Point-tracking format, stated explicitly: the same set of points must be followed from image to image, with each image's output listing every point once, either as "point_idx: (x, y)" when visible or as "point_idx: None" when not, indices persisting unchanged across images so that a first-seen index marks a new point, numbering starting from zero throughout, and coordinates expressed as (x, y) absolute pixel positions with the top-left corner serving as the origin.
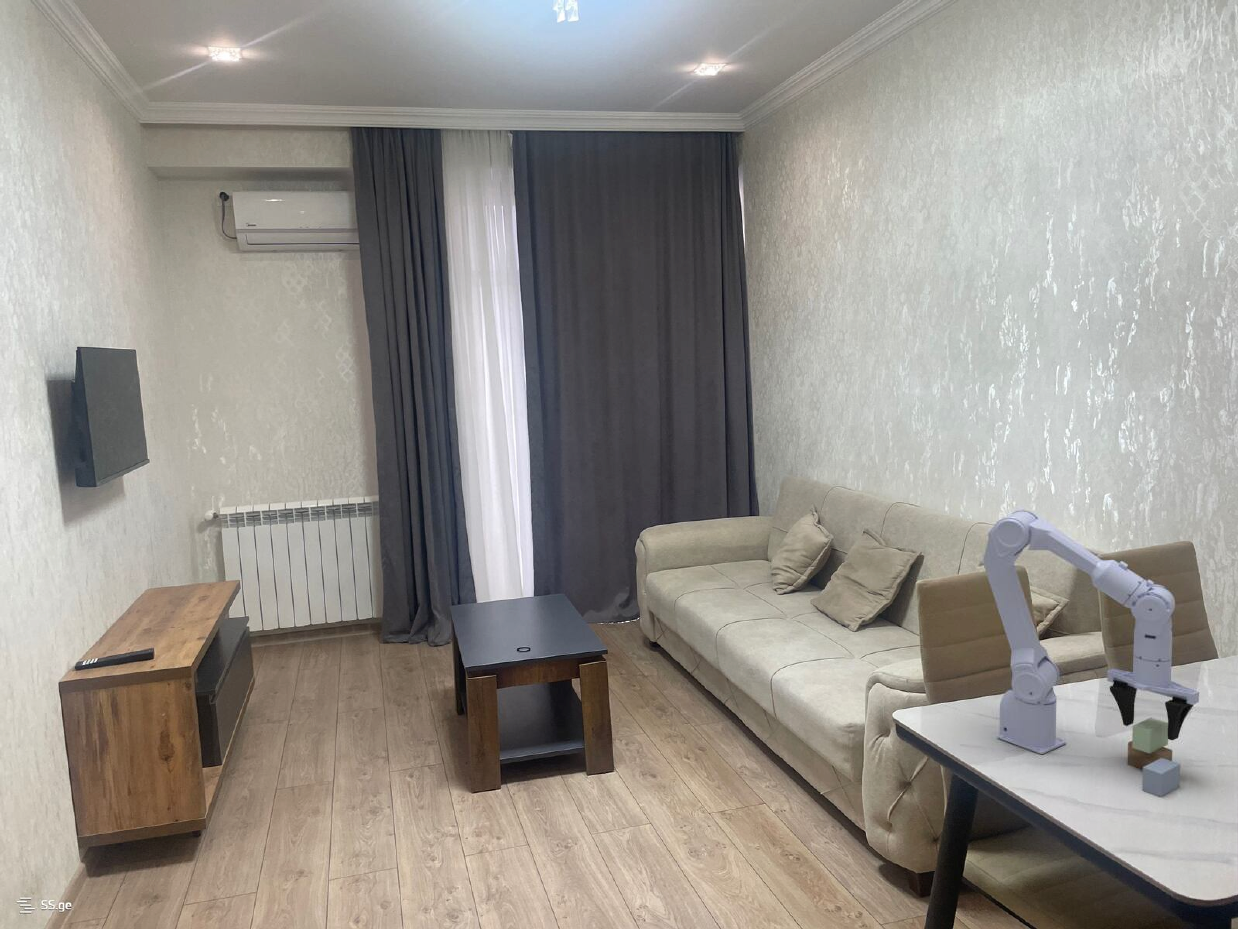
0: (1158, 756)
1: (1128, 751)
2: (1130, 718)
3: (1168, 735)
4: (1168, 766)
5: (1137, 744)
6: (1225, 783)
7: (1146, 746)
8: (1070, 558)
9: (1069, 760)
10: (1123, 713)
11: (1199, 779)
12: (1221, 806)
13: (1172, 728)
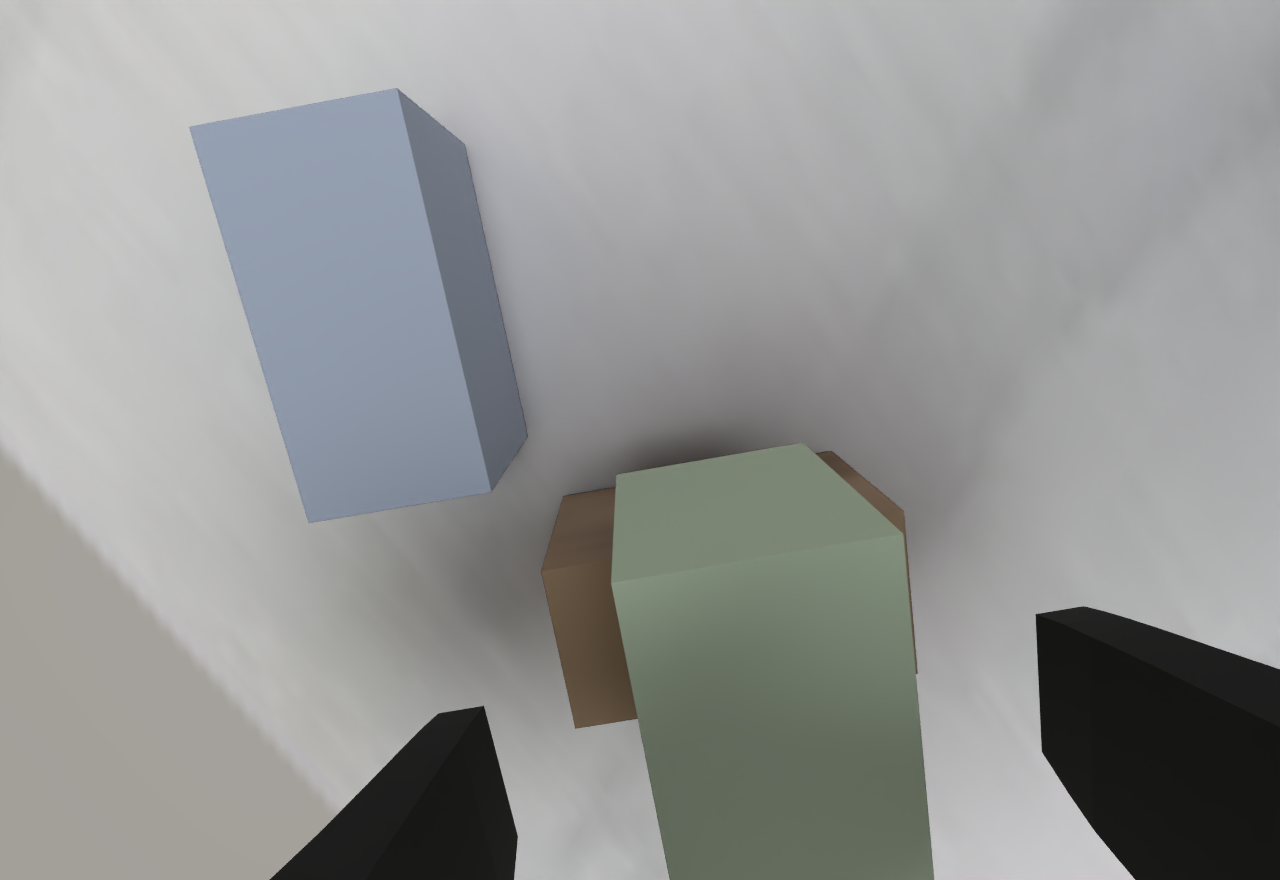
0: (587, 547)
1: (864, 485)
2: (1101, 752)
3: (450, 731)
4: (307, 368)
5: (756, 466)
6: (318, 769)
7: (653, 488)
8: None
9: (1146, 83)
10: (1236, 685)
11: (429, 681)
12: (59, 451)
13: (325, 833)
